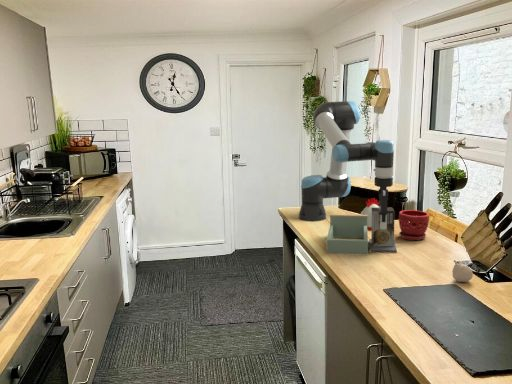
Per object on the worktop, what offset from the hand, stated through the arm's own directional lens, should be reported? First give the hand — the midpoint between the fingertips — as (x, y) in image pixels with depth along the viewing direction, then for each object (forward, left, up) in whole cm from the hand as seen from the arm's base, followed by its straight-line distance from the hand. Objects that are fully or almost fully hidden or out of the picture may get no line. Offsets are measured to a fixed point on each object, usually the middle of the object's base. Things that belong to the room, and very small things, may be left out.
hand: (382, 224), depth 199 cm
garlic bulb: (+36, +26, -10) cm, 46 cm away
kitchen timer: (-32, -3, -10) cm, 34 cm away
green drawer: (-1, -15, -10) cm, 18 cm away
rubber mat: (0, 0, -10) cm, 10 cm away
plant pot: (-15, +15, -10) cm, 23 cm away
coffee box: (0, 0, -9) cm, 9 cm away
